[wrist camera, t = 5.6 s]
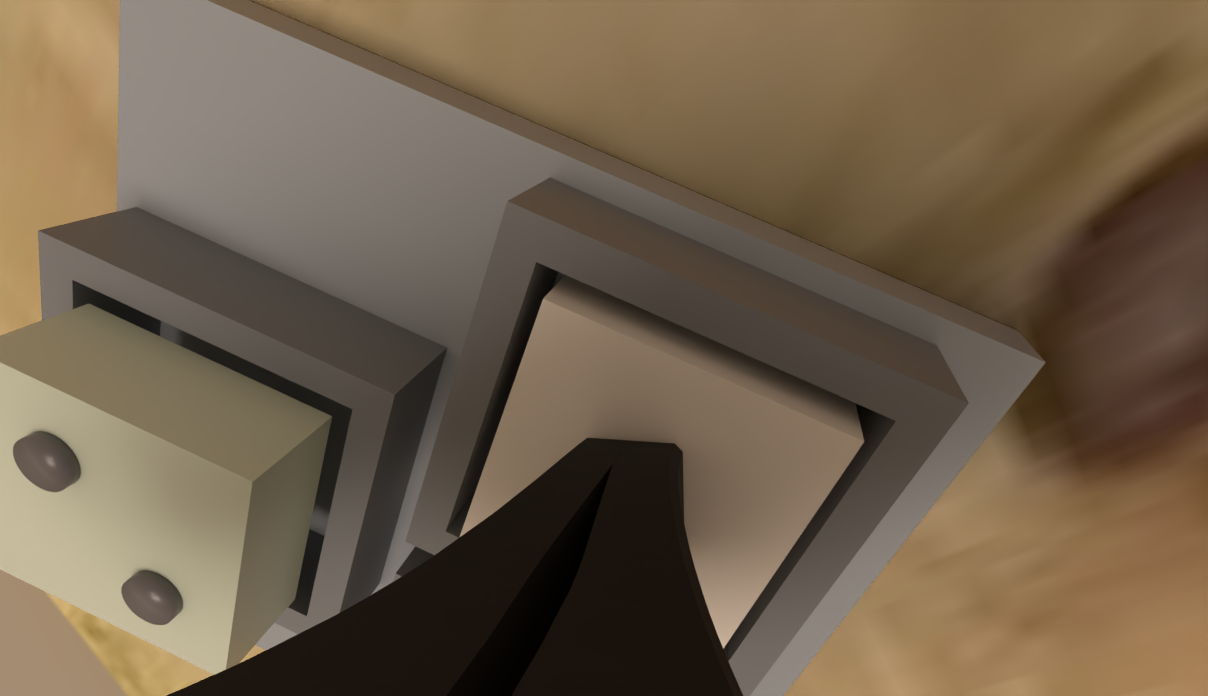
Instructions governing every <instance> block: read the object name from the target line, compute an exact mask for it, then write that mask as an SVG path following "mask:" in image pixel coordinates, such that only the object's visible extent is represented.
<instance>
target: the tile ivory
mask: <svg viewBox="0 0 1208 696" xmlns="http://www.w3.org/2000/svg"><path fill="white" fill-rule="evenodd" d="M586 438H600V439H615V440H630V441H645V442H660V443H675V444H676V445H677V446H678V447H679V448H680V449H681V450H682V451H683V487H684V525H685V529H686V534H687V538H688V543H689V548H690V551H691V555H692V559H693V562H694V566H695V570H696V573H697V576H698V579H699V582H700V586H701V589H702V592H703V595H704V598H705V601H706V604H707V607H708V610H709V613H710V616H711V618H712V621H713V624H714V626H715V629H716V632H717V634H718V637H719V639H720V642H721V644H722V647H723V648H724V647H725V646H726V644H727V643H728V641H729V640H730V638H731V637H732V635H733V634H734V632H735V631H736V629H737V628H738V626H739V625H740V624H741V622H742V621H743V619H744V618H745V616H746V615H747V613H748V612H749V610H750V609H751V607H752V606H753V604H754V603H755V601H756V600H757V599H758V597H759V596H760V594H761V593H762V591H763V590H764V588H765V587H766V585H767V584H768V582H769V581H770V579H771V578H772V577H773V575H774V574H775V572H776V571H777V569H778V568H779V566H780V565H781V563H782V562H783V560H784V559H785V557H786V556H787V555H788V553H789V552H790V550H791V549H792V547H793V546H794V544H795V543H796V541H797V540H798V538H799V537H800V535H801V534H802V532H803V531H804V530H805V528H806V527H807V525H808V524H809V522H810V521H811V519H812V518H813V516H814V515H815V513H816V512H817V510H818V509H819V508H820V506H821V505H822V503H823V502H824V500H825V499H826V497H827V496H828V494H829V493H830V491H831V490H832V488H833V487H834V485H835V484H836V483H837V481H838V480H839V478H840V477H841V475H842V474H843V472H844V471H845V469H846V468H847V466H848V465H849V463H850V462H851V461H852V459H853V458H854V456H855V455H856V453H857V452H858V450H859V449H860V447H861V446H862V444H863V443H864V438H863V434H862V429H861V425H860V421H859V416H858V412H857V408H856V403H854V402H852V401H849V400H847V399H845V398H843V397H840V396H838V395H836V394H834V393H831V392H829V391H827V390H825V389H822V388H820V387H818V386H816V385H813V384H811V383H809V382H806V381H804V380H802V379H800V378H797V377H795V376H793V375H791V374H788V373H786V372H784V371H782V370H779V369H777V368H775V367H773V366H770V365H768V364H766V363H764V362H761V361H759V360H757V359H754V358H752V357H750V356H748V355H745V354H743V353H741V352H739V351H736V350H734V349H732V348H730V347H727V346H725V345H723V344H721V343H718V342H716V341H714V340H711V339H709V338H707V337H705V336H702V335H700V334H698V333H696V332H693V331H691V330H689V329H687V328H684V327H682V326H680V325H678V324H675V323H673V322H671V321H669V320H666V319H664V318H662V317H659V316H657V315H655V314H653V313H650V312H648V311H646V310H644V309H641V308H639V307H637V306H635V305H632V304H630V303H628V302H626V301H623V300H621V299H619V298H617V297H614V296H612V295H610V294H607V293H605V292H603V291H601V290H598V289H596V288H594V287H592V286H589V285H587V284H585V283H583V282H580V281H578V280H576V279H574V278H571V277H569V276H567V275H565V276H564V277H563V278H562V279H561V280H560V281H559V282H558V283H557V284H556V286H555V287H554V288H553V289H552V290H551V291H550V292H549V293H548V294H547V295H546V296H545V297H544V298H543V300H542V303H541V306H540V309H539V312H538V315H537V318H536V320H535V323H534V326H533V329H532V332H531V335H530V337H529V340H528V343H527V346H526V349H525V352H524V355H523V357H522V360H521V363H520V366H519V369H518V372H517V374H516V377H515V380H514V383H513V386H512V389H511V392H510V394H509V397H508V400H507V403H506V406H505V409H504V412H503V414H502V417H501V420H500V423H499V426H498V429H497V431H496V434H495V437H494V440H493V443H492V446H491V449H490V451H489V454H488V457H487V460H486V463H485V466H484V468H483V471H482V474H481V477H480V480H479V483H478V486H477V488H476V491H475V494H474V497H473V500H472V503H471V505H470V508H469V511H468V514H467V517H466V520H465V523H464V525H463V528H462V531H461V534H460V537H461V536H462V535H464V534H465V533H466V532H468V531H469V530H471V529H472V528H473V527H475V526H476V525H478V524H479V523H480V522H482V521H483V520H485V519H486V518H487V517H489V516H490V515H492V514H493V513H494V512H496V511H497V510H498V509H499V508H501V507H502V506H503V505H504V504H506V503H507V502H508V501H510V500H511V499H512V498H513V497H515V496H516V495H517V494H518V493H520V492H521V491H522V490H523V489H525V488H526V487H527V486H528V485H530V484H531V483H532V482H533V481H535V480H536V479H537V478H538V477H540V476H541V475H542V474H543V473H544V472H546V471H547V470H548V469H549V468H550V467H552V466H553V465H554V464H555V463H556V462H558V461H559V460H560V459H561V458H562V457H564V456H565V455H566V454H567V453H568V452H570V451H571V450H572V449H573V448H575V447H576V446H577V445H578V444H580V443H581V442H582V441H584V440H585V439H586Z"/></svg>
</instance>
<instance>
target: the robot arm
mask: <svg viewBox="0 0 1208 696" xmlns="http://www.w3.org/2000/svg"><path fill="white" fill-rule="evenodd" d="M167 696H743V694H742V691H741V689H740V687H739V685H738V682H737V680H736V678H735V676H734V673H733V671H732V669H731V667H730V664H729V662H728V659H727V657H726V654H725V652H724V649H723V647H722V644H721V642H720V639H719V637H718V634H717V632H716V629H715V626H714V624H713V621H712V618H711V616H710V613H709V610H708V607H707V604H706V601H705V598H704V595H703V592H702V589H701V586H700V582H699V579H698V576H697V573H696V570H695V566H694V562H693V559H692V555H691V551H690V548H689V543H688V538H687V534H686V529H685V525H684V487H683V451H682V450H681V449H680V448H679V447H678V446H677V445H676V444H675V443H660V442H645V441H630V440H615V439H600V438H586V439H585V440H584V441H582V442H581V443H580V444H578V445H577V446H576V447H575V448H573V449H572V450H571V451H570V452H568V453H567V454H566V455H565V456H564V457H562V458H561V459H560V460H559V461H558V462H556V463H555V464H554V465H553V466H552V467H550V468H549V469H548V470H547V471H546V472H544V473H543V474H542V475H541V476H540V477H538V478H537V479H536V480H535V481H533V482H532V483H531V484H530V485H528V486H527V487H526V488H525V489H523V490H522V491H521V492H520V493H518V494H517V495H516V496H515V497H513V498H512V499H511V500H510V501H508V502H507V503H506V504H504V505H503V506H502V507H501V508H499V509H498V510H497V511H496V512H494V513H493V514H492V515H490V516H489V517H487V518H486V519H485V520H483V521H482V522H480V523H479V524H478V525H476V526H475V527H473V528H472V529H471V530H469V531H468V532H466V533H465V534H464V535H462V536H461V537H459V538H458V539H457V540H455V541H454V542H453V543H451V544H450V545H448V546H447V547H446V548H444V549H443V550H441V551H440V552H439V553H437V554H436V555H434V556H433V557H431V558H430V559H428V560H427V561H425V562H424V563H422V564H421V565H419V566H418V567H416V568H415V569H413V570H411V571H410V572H408V573H407V574H405V575H403V576H402V577H400V578H399V579H397V580H395V581H394V582H392V583H390V584H389V585H387V586H385V587H384V588H382V589H380V590H379V591H377V592H375V593H373V594H372V595H370V596H368V597H367V598H365V599H363V600H362V601H360V602H358V603H356V604H355V605H353V606H351V607H349V608H348V609H346V610H344V611H342V612H340V613H339V614H337V615H335V616H333V617H331V618H329V619H327V620H325V621H323V622H321V623H319V624H317V625H315V626H313V627H311V628H309V629H307V630H305V631H303V632H301V633H299V634H297V635H295V636H293V637H291V638H289V639H287V640H285V641H284V642H282V643H280V644H278V645H276V646H274V647H272V648H270V649H268V650H266V651H264V652H262V653H260V654H258V655H256V656H254V657H252V658H250V659H248V660H246V661H244V662H241V663H239V664H237V665H235V666H233V667H231V668H228V669H226V670H224V671H222V672H219V673H217V674H215V675H213V676H210V677H208V678H206V679H204V680H201V681H199V682H197V683H195V684H192V685H190V686H188V687H186V688H183V689H181V690H179V691H176V692H174V693H171V694H169V695H167Z"/></svg>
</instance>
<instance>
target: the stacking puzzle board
mask: <svg viewBox="0 0 1208 696" xmlns="http://www.w3.org/2000/svg"><path fill="white" fill-rule="evenodd" d="M38 240H39V262H40V285H41V307H42V320H45V319H48V318H50V317H53V316H56V315H59V314H61V313H64V312H67V311H70V310H72V309H75V308H78V307H80V306H83V305H86V304H91V305H93V306H95V307H98V308H100V309H102V310H104V311H106V312H108V313H110V314H113V315H115V316H117V317H119V318H121V319H123V320H126V321H128V322H130V323H132V324H134V325H136V326H138V327H141V328H143V329H145V330H147V331H149V332H151V333H154V334H156V335H158V336H160V337H162V338H164V339H166V340H169V341H171V342H173V343H175V344H177V345H179V346H182V347H184V348H186V349H188V350H190V351H192V352H195V353H197V354H199V355H201V356H203V357H205V358H207V359H210V360H212V361H214V362H216V363H218V364H220V365H223V366H225V367H227V368H229V369H231V370H233V371H235V372H238V373H240V374H242V375H244V376H246V377H248V378H251V379H253V380H255V381H257V382H259V383H261V384H263V385H266V386H268V387H270V388H272V389H274V390H276V391H279V392H281V393H283V394H285V395H287V396H289V397H291V398H294V399H296V400H298V401H300V402H302V403H304V404H307V405H309V406H311V407H313V408H315V409H317V410H319V411H322V412H324V413H326V414H328V415H330V416H332V420H331V425H330V430H329V435H328V440H327V445H326V449H325V454H324V459H323V464H322V469H321V474H320V479H319V484H318V489H317V494H316V499H315V503H314V508H313V513H312V518H311V523H310V528H309V533H308V538H307V543H306V548H305V553H304V557H303V562H302V567H301V572H300V577H299V582H298V587H297V592H296V597H295V600H294V601H293V602H292V603H291V604H290V606H289V607H288V608H287V609H286V610H285V611H284V612H283V614H282V615H281V616H280V617H279V618H278V619H277V620H276V621H275V623H274V624H273V625H272V626H271V627H270V628H269V629H268V631H267V632H266V633H265V634H264V635H263V636H262V637H261V639H260V640H259V641H258V642H257V643H256V644H255V645H257V646H259V647H261V648H263V649H265V650H268V649H270V648H272V647H274V646H276V645H278V644H280V643H282V642H284V641H285V640H287V639H289V638H291V637H293V636H295V635H297V634H299V633H301V632H303V631H305V630H307V629H309V628H311V627H313V626H315V625H317V624H319V623H321V622H323V621H325V620H327V619H329V618H331V617H333V616H335V615H337V614H339V613H340V612H342V611H344V610H346V609H348V608H349V607H351V606H353V605H355V604H356V603H358V602H360V601H362V600H363V599H365V598H367V597H368V596H370V595H372V594H373V593H375V592H377V591H379V590H380V589H382V588H384V587H385V586H387V585H389V584H390V583H392V582H394V581H395V580H397V579H399V578H400V577H402V576H403V575H405V574H407V573H408V572H410V571H411V570H413V569H415V568H416V567H418V566H419V565H421V564H422V563H424V562H425V561H427V560H428V559H430V558H431V557H433V556H434V555H436V554H437V553H439V552H440V551H441V550H443V549H444V548H446V547H447V546H448V545H450V544H451V543H453V542H454V541H455V540H457V539H458V538H459V537H460V534H461V531H462V528H463V525H464V523H465V520H466V517H467V514H468V511H469V508H470V505H471V503H472V500H473V497H474V494H475V491H476V488H477V486H478V483H479V480H480V477H481V474H482V471H483V468H484V466H485V463H486V460H487V457H488V454H489V451H490V449H491V446H492V443H493V440H494V437H495V434H496V431H497V429H498V426H499V423H500V420H501V417H502V414H503V412H504V409H505V406H506V403H507V400H508V397H509V394H510V392H511V389H512V386H513V383H514V380H515V377H516V374H517V372H518V369H519V366H520V363H521V360H522V357H523V355H524V352H525V349H526V346H527V343H528V340H529V337H530V335H531V332H532V329H533V326H534V323H535V320H536V318H537V315H538V312H539V309H540V306H541V303H542V300H543V298H544V297H545V296H546V295H547V294H548V293H549V292H550V291H551V290H552V289H553V288H554V287H555V286H556V284H557V283H558V282H559V281H560V280H561V279H562V278H563V277H564V276H565V275H567V276H569V277H571V278H574V279H576V280H578V281H580V282H583V283H585V284H587V285H589V286H592V287H594V288H596V289H598V290H601V291H603V292H605V293H607V294H610V295H612V296H614V297H617V298H619V299H621V300H623V301H626V302H628V303H630V304H632V305H635V306H637V307H639V308H641V309H644V310H646V311H648V312H650V313H653V314H655V315H657V316H659V317H662V318H664V319H666V320H669V321H671V322H673V323H675V324H678V325H680V326H682V327H684V328H687V329H689V330H691V331H693V332H696V333H698V334H700V335H702V336H705V337H707V338H709V339H711V340H714V341H716V342H718V343H721V344H723V345H725V346H727V347H730V348H732V349H734V350H736V351H739V352H741V353H743V354H745V355H748V356H750V357H752V358H754V359H757V360H759V361H761V362H764V363H766V364H768V365H770V366H773V367H775V368H777V369H779V370H782V371H784V372H786V373H788V374H791V375H793V376H795V377H797V378H800V379H802V380H804V381H806V382H809V383H811V384H813V385H816V386H818V387H820V388H822V389H825V390H827V391H829V392H831V393H834V394H836V395H838V396H840V397H843V398H845V399H847V400H849V401H852V402H854V403H856V408H857V412H858V416H859V421H860V425H861V429H862V434H863V438H864V443H863V444H862V446H861V447H860V449H859V450H858V452H857V453H856V455H855V456H854V458H853V459H852V461H851V462H850V463H849V465H848V466H847V468H846V469H845V471H844V472H843V474H842V475H841V477H840V478H839V480H838V481H837V483H836V484H835V485H834V487H833V488H832V490H831V491H830V493H829V494H828V496H827V497H826V499H825V500H824V502H823V503H822V505H821V506H820V508H819V509H818V510H817V512H816V513H815V515H814V516H813V518H812V519H811V521H810V522H809V524H808V525H807V527H806V528H805V530H804V531H803V532H802V534H801V535H800V537H799V538H798V540H797V541H796V543H795V544H794V546H793V547H792V549H791V550H790V552H789V553H788V555H787V556H786V557H785V559H784V560H783V562H782V563H781V565H780V566H779V568H778V569H777V571H776V572H775V574H774V575H773V577H772V578H771V579H770V581H769V582H768V584H767V585H766V587H765V588H764V590H763V591H762V593H761V594H760V596H759V597H758V599H757V600H756V601H755V603H754V604H753V606H752V607H751V609H750V610H749V612H748V613H747V615H746V616H745V618H744V619H743V621H742V622H741V624H740V625H739V626H738V628H737V629H736V631H735V632H734V634H733V635H732V637H731V638H730V640H729V641H728V643H727V644H726V646H725V647H724V648H723V649H724V652H725V654H726V657H727V659H728V662H729V664H730V667H731V669H732V671H733V673H734V676H735V678H736V680H737V682H738V685H739V687H740V689H741V691H742V694H743V696H784V694H785V693H786V692H787V691H788V689H789V688H790V687H791V686H792V684H793V683H794V682H795V680H796V679H797V678H798V677H799V675H800V674H801V673H802V672H803V670H804V669H805V668H806V666H807V665H808V664H809V663H810V661H811V660H812V659H813V658H814V656H815V655H816V654H817V652H818V651H819V650H820V649H821V647H822V646H823V645H824V644H825V642H826V641H827V640H828V638H829V637H830V636H831V635H832V633H833V632H834V631H835V630H836V628H837V627H838V626H839V624H840V623H841V622H842V621H843V619H844V618H845V617H846V616H847V614H848V613H849V612H850V611H851V609H852V608H853V607H854V605H855V604H856V603H857V602H858V600H859V599H860V598H861V597H862V595H863V594H864V593H865V591H866V590H867V589H868V588H869V586H870V585H871V584H872V583H873V581H874V580H875V579H876V577H877V576H878V575H879V574H880V572H881V571H882V570H883V569H884V567H885V566H886V565H887V563H888V562H889V561H890V560H891V558H892V557H893V556H894V555H895V553H896V552H897V551H898V550H899V548H900V547H901V546H902V544H903V543H904V542H905V541H906V539H907V538H908V537H909V536H910V534H911V533H912V532H913V530H914V529H915V528H916V527H917V525H918V524H919V523H920V522H921V520H922V519H923V518H924V516H925V515H926V514H927V513H928V511H929V510H930V509H931V508H932V506H933V505H934V504H935V502H936V501H937V500H938V499H939V497H940V496H941V495H942V494H943V492H944V491H945V490H946V488H947V487H948V486H949V485H950V483H951V482H952V481H953V480H954V478H955V477H956V476H957V475H958V473H959V472H960V471H961V469H962V468H963V467H964V466H965V464H966V463H967V462H968V461H969V459H970V458H971V457H972V455H973V454H974V453H975V452H976V450H977V449H978V448H979V447H980V445H981V444H982V443H983V441H984V440H985V439H986V438H987V436H988V435H989V434H990V433H991V431H992V430H993V429H994V427H995V426H996V425H997V424H998V422H999V421H1000V420H1001V419H1002V417H1003V416H1004V415H1005V414H1006V412H1007V411H1008V410H1009V408H1010V407H1011V406H1012V405H1013V403H1014V402H1015V401H1016V400H1017V398H1018V397H1019V396H1020V394H1021V393H1022V392H1023V391H1024V389H1025V388H1026V387H1027V386H1028V384H1029V383H1030V382H1031V380H1032V379H1033V378H1034V377H1035V375H1036V374H1037V373H1038V372H1039V370H1040V369H1041V368H1042V366H1043V365H1044V364H1045V363H1046V362H1045V361H1044V360H1043V359H1042V358H1041V356H1040V355H1039V354H1038V353H1037V352H1036V351H1035V350H1034V348H1033V347H1032V346H1031V345H1030V344H1029V343H1028V342H1027V340H1026V339H1025V338H1024V337H1023V336H1022V335H1021V334H1020V332H1019V331H1017V330H1015V329H1012V328H1010V327H1008V326H1005V325H1003V324H1001V323H998V322H996V321H994V320H991V319H989V318H987V317H984V316H982V315H980V314H978V313H975V312H973V311H971V310H968V309H966V308H964V307H961V306H959V305H957V304H954V303H952V302H950V301H947V300H945V299H943V298H940V297H938V296H936V295H933V294H931V293H929V292H926V291H924V290H922V289H919V288H917V287H915V286H912V285H910V284H908V283H905V282H903V281H901V280H898V279H896V278H894V277H892V276H889V275H887V274H885V273H882V272H880V271H878V270H875V269H873V268H871V267H868V266H866V265H864V264H861V263H859V262H857V261H854V260H852V259H850V258H847V257H845V256H843V255H840V254H838V253H836V252H833V251H831V250H829V249H826V248H824V247H822V246H819V245H817V244H815V243H812V242H810V241H808V240H805V239H803V238H801V237H799V236H796V235H794V234H792V233H789V232H787V231H785V230H782V229H780V228H778V227H775V226H773V225H771V224H768V223H766V222H764V221H761V220H759V219H757V218H754V217H752V216H750V215H747V214H745V213H743V212H740V211H738V210H736V209H733V208H731V207H729V206H726V205H724V204H722V203H719V202H717V201H715V200H712V199H710V198H708V197H706V196H703V195H701V194H699V193H696V192H694V191H692V190H689V189H687V188H685V187H682V186H680V185H678V184H675V183H673V182H671V181H668V180H666V179H664V178H661V177H659V176H657V175H654V174H652V173H650V172H647V171H645V170H643V169H640V168H638V167H636V166H633V165H631V164H629V163H626V162H624V161H622V160H619V159H617V158H615V157H613V156H610V155H608V154H606V153H603V152H601V151H599V150H596V149H594V148H592V147H589V146H587V145H585V144H582V143H580V142H578V141H575V140H573V139H571V138H568V137H566V136H564V135H561V134H559V133H557V132H554V131H552V130H550V129H547V128H545V127H543V126H540V125H538V124H536V123H533V122H531V121H529V120H526V119H524V118H522V117H520V116H517V115H515V114H513V113H510V112H508V111H506V110H503V109H501V108H499V107H496V106H494V105H492V104H489V103H487V102H485V101H482V100H480V99H478V98H475V97H473V96H471V95H468V94H466V93H464V92H461V91H459V90H457V89H454V88H452V87H450V86H447V85H445V84H443V83H440V82H438V81H436V80H434V79H431V78H429V77H427V76H424V75H422V74H420V73H417V72H415V71H413V70H410V69H408V68H406V67H403V66H401V65H399V64H396V63H394V62H392V61H389V60H387V59H385V58H382V57H380V56H378V55H375V54H373V53H371V52H368V51H366V50H364V49H361V48H359V47H357V46H354V45H352V44H350V43H347V42H345V41H343V40H341V39H338V38H336V37H334V36H331V35H329V34H327V33H324V32H322V31H320V30H317V29H315V28H313V27H310V26H308V25H306V24H303V23H301V22H299V21H296V20H294V19H292V18H289V17H287V16H285V15H282V14H280V13H278V12H275V11H273V10H271V9H268V8H266V7H264V6H261V5H259V4H257V3H254V2H252V1H250V0H120V33H119V103H118V173H117V212H113V213H109V214H105V215H101V216H97V217H93V218H88V219H84V220H80V221H76V222H72V223H68V224H64V225H59V226H55V227H51V228H47V229H43V230H39V231H38Z"/></svg>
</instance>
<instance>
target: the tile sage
mask: <svg viewBox="0 0 1208 696" xmlns="http://www.w3.org/2000/svg"><path fill="white" fill-rule="evenodd" d="M331 420H332V416H330V415H328V414H326V413H324V412H322V411H319V410H317V409H315V408H313V407H311V406H309V405H307V404H304V403H302V402H300V401H298V400H296V399H294V398H291V397H289V396H287V395H285V394H283V393H281V392H279V391H276V390H274V389H272V388H270V387H268V386H266V385H263V384H261V383H259V382H257V381H255V380H253V379H251V378H248V377H246V376H244V375H242V374H240V373H238V372H235V371H233V370H231V369H229V368H227V367H225V366H223V365H220V364H218V363H216V362H214V361H212V360H210V359H207V358H205V357H203V356H201V355H199V354H197V353H195V352H192V351H190V350H188V349H186V348H184V347H182V346H179V345H177V344H175V343H173V342H171V341H169V340H166V339H164V338H162V337H160V336H158V335H156V334H154V333H151V332H149V331H147V330H145V329H143V328H141V327H138V326H136V325H134V324H132V323H130V322H128V321H126V320H123V319H121V318H119V317H117V316H115V315H113V314H110V313H108V312H106V311H104V310H102V309H100V308H98V307H95V306H93V305H91V304H86V305H83V306H80V307H78V308H75V309H72V310H70V311H67V312H64V313H61V314H59V315H56V316H53V317H50V318H48V319H45V320H42V321H39V322H37V323H34V324H31V325H28V326H26V327H23V328H20V329H18V330H15V331H12V332H9V333H7V334H4V335H1V336H0V570H3V571H5V572H7V573H9V574H11V575H13V576H15V577H17V578H19V579H21V580H23V581H25V582H27V583H29V584H31V585H33V586H35V587H37V588H39V589H41V590H43V591H45V592H47V593H49V594H51V595H53V596H55V597H57V598H59V599H61V600H63V601H65V602H68V603H70V604H72V605H74V606H76V607H78V608H80V609H82V610H84V611H86V612H88V613H90V614H92V615H94V616H96V617H98V618H100V619H102V620H104V621H106V622H108V623H110V624H112V625H114V626H116V627H118V628H120V629H122V630H124V631H126V632H128V633H130V634H133V635H135V636H137V637H139V638H141V639H143V640H145V641H147V642H149V643H151V644H153V645H155V646H157V647H159V648H161V649H163V650H165V651H167V652H169V653H171V654H173V655H175V656H177V657H179V658H181V659H183V660H185V661H187V662H189V663H191V664H193V665H195V666H198V667H200V668H202V669H204V670H206V671H208V672H210V673H212V674H214V675H215V674H217V673H219V672H222V671H224V670H226V669H228V668H231V667H233V666H235V665H237V664H239V662H240V661H241V660H242V659H243V658H244V657H245V656H246V654H247V653H248V652H249V651H250V650H251V649H252V648H253V647H254V645H255V644H256V643H257V642H258V641H259V640H260V639H261V637H262V636H263V635H264V634H265V633H266V632H267V631H268V629H269V628H270V627H271V626H272V625H273V624H274V623H275V621H276V620H277V619H278V618H279V617H280V616H281V615H282V614H283V612H284V611H285V610H286V609H287V608H288V607H289V606H290V604H291V603H292V602H293V601H294V600H295V597H296V592H297V587H298V582H299V577H300V572H301V567H302V562H303V557H304V553H305V548H306V543H307V538H308V533H309V528H310V523H311V518H312V513H313V508H314V503H315V499H316V494H317V489H318V484H319V479H320V474H321V469H322V464H323V459H324V454H325V449H326V445H327V440H328V435H329V430H330V425H331Z"/></svg>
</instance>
